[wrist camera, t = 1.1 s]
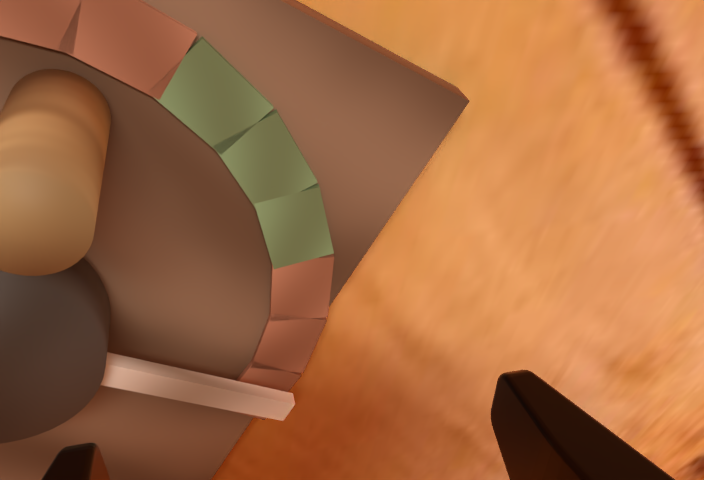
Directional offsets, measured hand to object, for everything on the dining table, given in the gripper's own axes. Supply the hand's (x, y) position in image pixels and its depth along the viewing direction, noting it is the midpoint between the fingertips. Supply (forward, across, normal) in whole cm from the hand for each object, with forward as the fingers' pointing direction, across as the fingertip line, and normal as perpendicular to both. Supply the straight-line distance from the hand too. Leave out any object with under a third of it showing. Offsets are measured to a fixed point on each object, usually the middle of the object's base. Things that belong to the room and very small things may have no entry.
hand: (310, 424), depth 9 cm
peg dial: (+11, +4, +6) cm, 13 cm away
